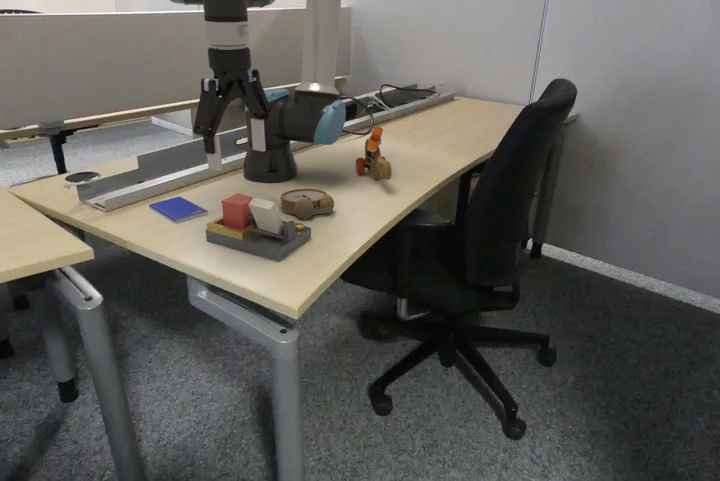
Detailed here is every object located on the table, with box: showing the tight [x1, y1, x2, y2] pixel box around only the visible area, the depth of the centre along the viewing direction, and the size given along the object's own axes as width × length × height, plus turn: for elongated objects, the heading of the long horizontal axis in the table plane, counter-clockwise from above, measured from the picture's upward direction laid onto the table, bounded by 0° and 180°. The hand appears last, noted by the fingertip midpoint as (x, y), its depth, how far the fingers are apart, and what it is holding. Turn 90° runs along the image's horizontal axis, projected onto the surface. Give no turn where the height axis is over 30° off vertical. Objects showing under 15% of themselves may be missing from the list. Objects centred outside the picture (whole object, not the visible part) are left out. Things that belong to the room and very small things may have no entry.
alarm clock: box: [279, 187, 335, 220], centre depth 124 cm, size 11×5×15 cm
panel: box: [205, 214, 312, 262], centre depth 108 cm, size 12×18×6 cm, turn 63°
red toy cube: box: [221, 193, 257, 230], centre depth 108 cm, size 5×5×6 cm
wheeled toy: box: [355, 126, 392, 181], centre depth 142 cm, size 8×21×14 cm, turn 14°
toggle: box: [248, 197, 284, 236], centre depth 103 cm, size 2×6×8 cm, turn 63°
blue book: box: [148, 196, 209, 225], centre depth 121 cm, size 2×8×12 cm
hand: (238, 159), depth 103 cm, fingers open, 13 cm apart
